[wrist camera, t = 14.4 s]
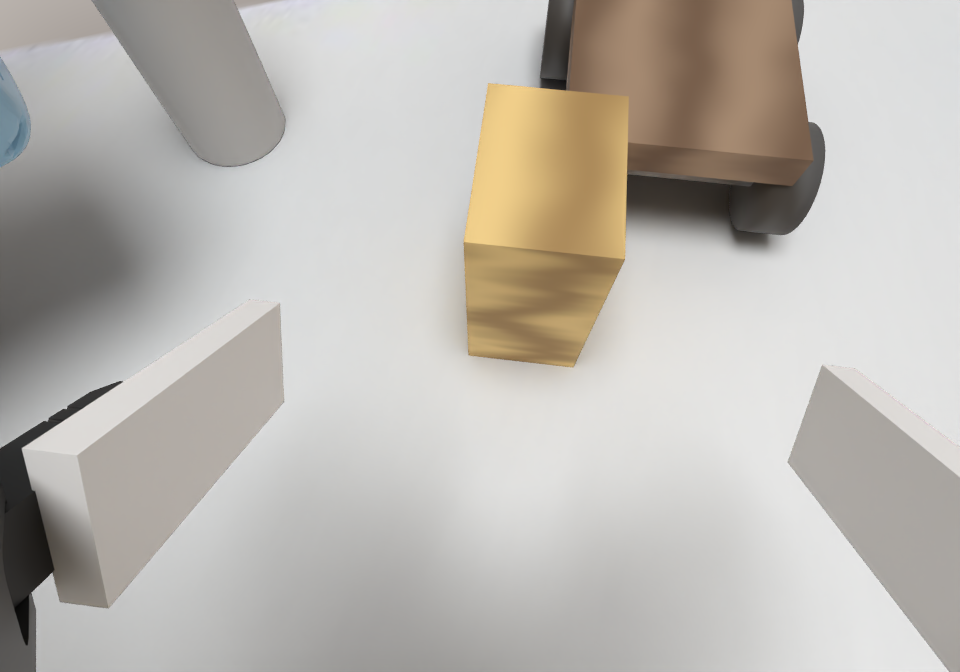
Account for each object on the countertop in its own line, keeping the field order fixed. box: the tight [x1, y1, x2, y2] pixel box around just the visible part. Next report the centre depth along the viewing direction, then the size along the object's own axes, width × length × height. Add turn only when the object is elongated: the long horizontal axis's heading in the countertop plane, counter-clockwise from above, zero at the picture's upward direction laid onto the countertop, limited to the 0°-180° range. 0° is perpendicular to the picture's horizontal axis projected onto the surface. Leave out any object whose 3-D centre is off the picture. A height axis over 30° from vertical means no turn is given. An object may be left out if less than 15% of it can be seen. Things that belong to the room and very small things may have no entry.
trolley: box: [540, 0, 825, 235], centre depth 34 cm, size 15×17×8 cm
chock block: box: [464, 83, 629, 367], centre depth 28 cm, size 6×8×12 cm
